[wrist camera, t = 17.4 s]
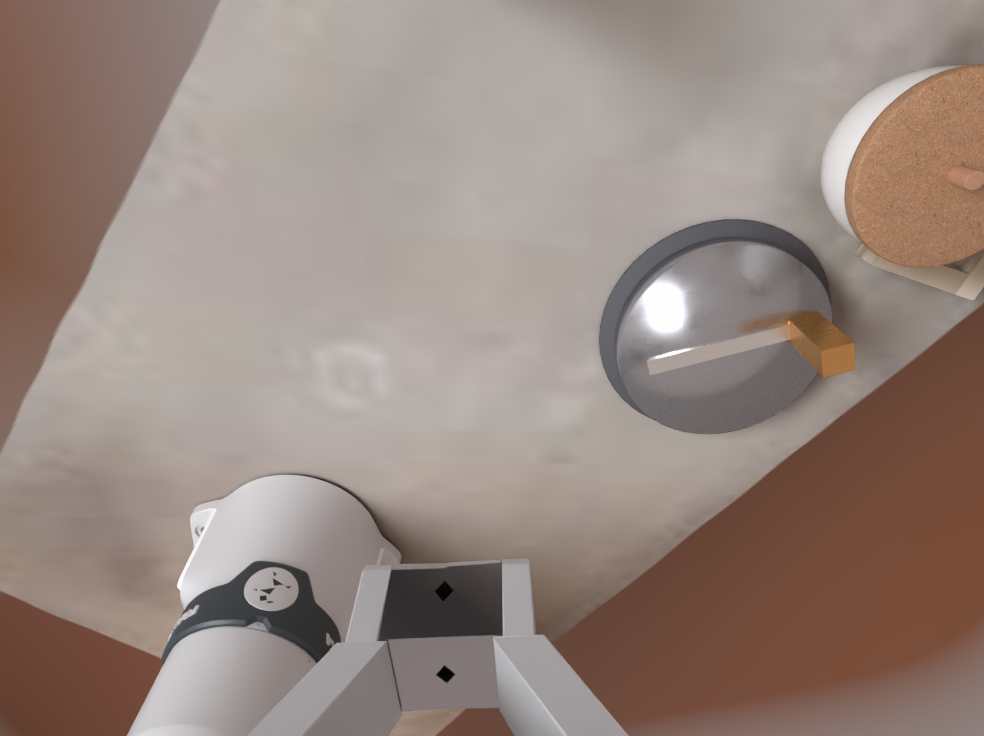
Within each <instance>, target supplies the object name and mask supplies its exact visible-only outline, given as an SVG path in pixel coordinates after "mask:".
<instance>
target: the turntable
mask: <svg viewBox="0 0 984 736" xmlns="http://www.w3.org/2000/svg"><path fill="white" fill-rule="evenodd" d="M614 351H615V358H616V363H617V366H618V369H619V372H620V375H621V377H622V380H623V383H624V385H625V387H626V389H627V391H628V393H629V395H630V397H631V398H632V399H633V401H634V402H635V404H636V405H637V406H638V407H639V408H640V409H641V410H642V411H643V412H644V413H645V414H647V415H648V416H649V417H651V418H652V419H653V420H655V421H657V422H659V423H660V424H662V425H665V426H667V427H670V428H672V429H675V430H679V431H683V432H688V433H695V434H718V433H726V432H732V431H737V430H740V429H743V428H747V427H750V426H752V425H755V424H757V423H760V422H762V421H764V420H766V419H768V418H770V417H771V416H773V415H775V414H776V413H778V412H779V411H781V410H783V409H784V408H785V407H787V406H788V405H789V404H790V403H792V402H793V401H794V400H795V399H796V398H797V397H798V396H799V395H800V394H801V393H802V392H803V391H804V390H805V389H806V388H807V387H808V385H809V384H810V383H811V382H812V380H813V379H814V378H815V376H816V374H817V373H819V374H820V375H821V376H822V377H823V378H824V377H828V376H832V375H836V374H840V373H844V372H848V371H852V370H855V343H854V342H853V341H852V340H851V339H850V338H848V337H847V336H846V335H845V334H844V333H843V332H841V331H840V330H839V329H838V328H837V327H836V326H834V325H833V318H832V310H831V305H830V301H829V298H828V295H827V293H826V291H825V289H824V287H823V285H822V283H821V282H820V281H819V279H818V278H817V276H816V275H815V274H814V273H813V272H812V271H811V270H810V269H809V268H808V267H807V266H806V265H804V264H803V263H802V262H800V261H799V260H798V259H796V258H795V257H794V256H792V255H791V254H789V253H788V252H787V251H785V250H784V249H782V248H780V247H778V246H776V245H774V244H772V243H769V242H766V241H762V240H759V239H754V238H748V237H721V238H714V239H709V240H705V241H701V242H698V243H695V244H692V245H689V246H687V247H685V248H683V249H681V250H679V251H676V252H674V253H673V254H671V255H670V256H668V257H666V258H665V259H663V260H662V261H660V262H659V263H658V264H657V265H655V266H654V267H653V268H652V269H650V270H649V271H648V272H647V273H646V274H645V275H644V277H643V278H642V279H641V280H640V281H639V282H638V283H637V285H636V286H635V287H634V288H633V290H632V291H631V293H630V294H629V296H628V298H627V299H626V301H625V303H624V305H623V307H622V310H621V312H620V314H619V318H618V321H617V325H616V330H615V337H614Z"/></svg>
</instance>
